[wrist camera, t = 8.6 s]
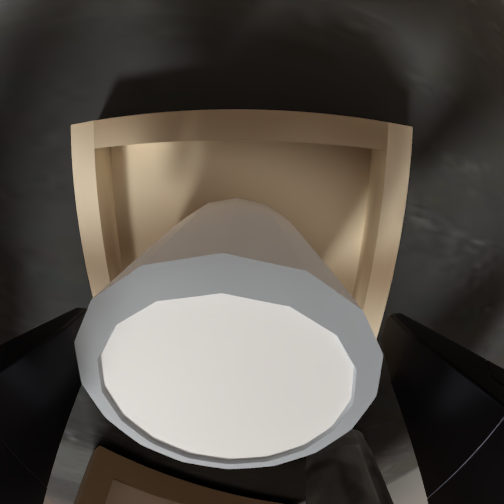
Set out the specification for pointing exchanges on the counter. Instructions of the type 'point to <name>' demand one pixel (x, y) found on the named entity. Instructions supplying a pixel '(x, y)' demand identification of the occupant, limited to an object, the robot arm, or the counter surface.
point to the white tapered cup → (229, 343)
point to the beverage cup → (345, 473)
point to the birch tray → (246, 185)
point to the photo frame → (143, 485)
